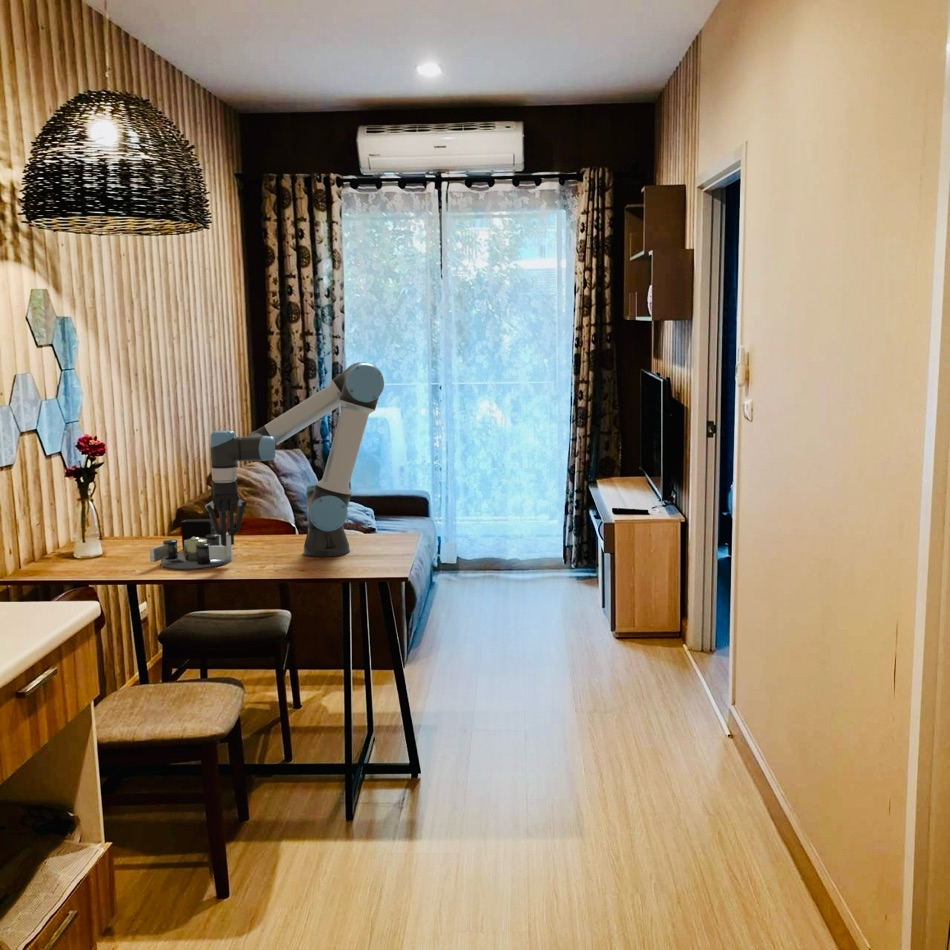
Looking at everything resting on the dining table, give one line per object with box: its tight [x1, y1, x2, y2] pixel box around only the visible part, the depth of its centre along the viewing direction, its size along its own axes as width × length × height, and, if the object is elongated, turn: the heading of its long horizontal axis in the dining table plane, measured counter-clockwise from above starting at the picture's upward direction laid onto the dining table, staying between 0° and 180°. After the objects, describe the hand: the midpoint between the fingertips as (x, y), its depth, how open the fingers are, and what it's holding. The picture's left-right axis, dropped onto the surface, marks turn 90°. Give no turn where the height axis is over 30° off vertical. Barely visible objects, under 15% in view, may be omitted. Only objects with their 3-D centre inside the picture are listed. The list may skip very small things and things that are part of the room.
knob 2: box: [206, 531, 228, 546], centre depth 321 cm, size 11×4×6 cm, turn 153°
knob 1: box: [149, 538, 179, 563], centre depth 307 cm, size 11×4×6 cm, turn 159°
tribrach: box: [160, 537, 232, 571], centre depth 311 cm, size 22×22×8 cm
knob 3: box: [196, 543, 234, 564], centre depth 304 cm, size 11×4×6 cm, turn 89°
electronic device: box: [180, 518, 215, 551], centre depth 330 cm, size 4×10×10 cm, turn 89°
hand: (228, 555), depth 302 cm, fingers closed
